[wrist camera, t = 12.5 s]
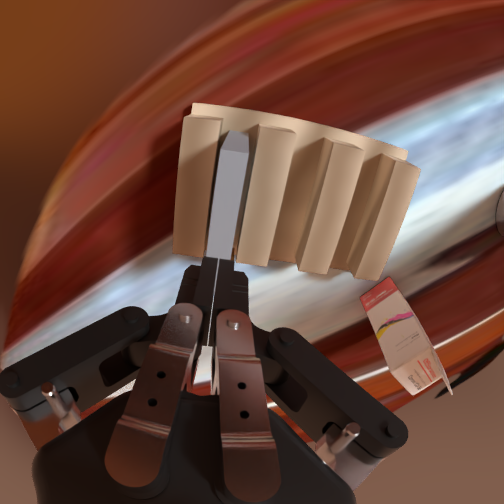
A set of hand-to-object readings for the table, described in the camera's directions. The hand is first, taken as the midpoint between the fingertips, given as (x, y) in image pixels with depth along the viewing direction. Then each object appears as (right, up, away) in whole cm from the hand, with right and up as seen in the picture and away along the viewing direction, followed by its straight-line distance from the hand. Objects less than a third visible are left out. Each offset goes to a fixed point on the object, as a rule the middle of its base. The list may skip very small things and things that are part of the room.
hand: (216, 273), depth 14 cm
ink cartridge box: (+19, -6, +21) cm, 29 cm away
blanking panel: (0, +7, +12) cm, 14 cm away
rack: (+6, +7, +13) cm, 16 cm away
